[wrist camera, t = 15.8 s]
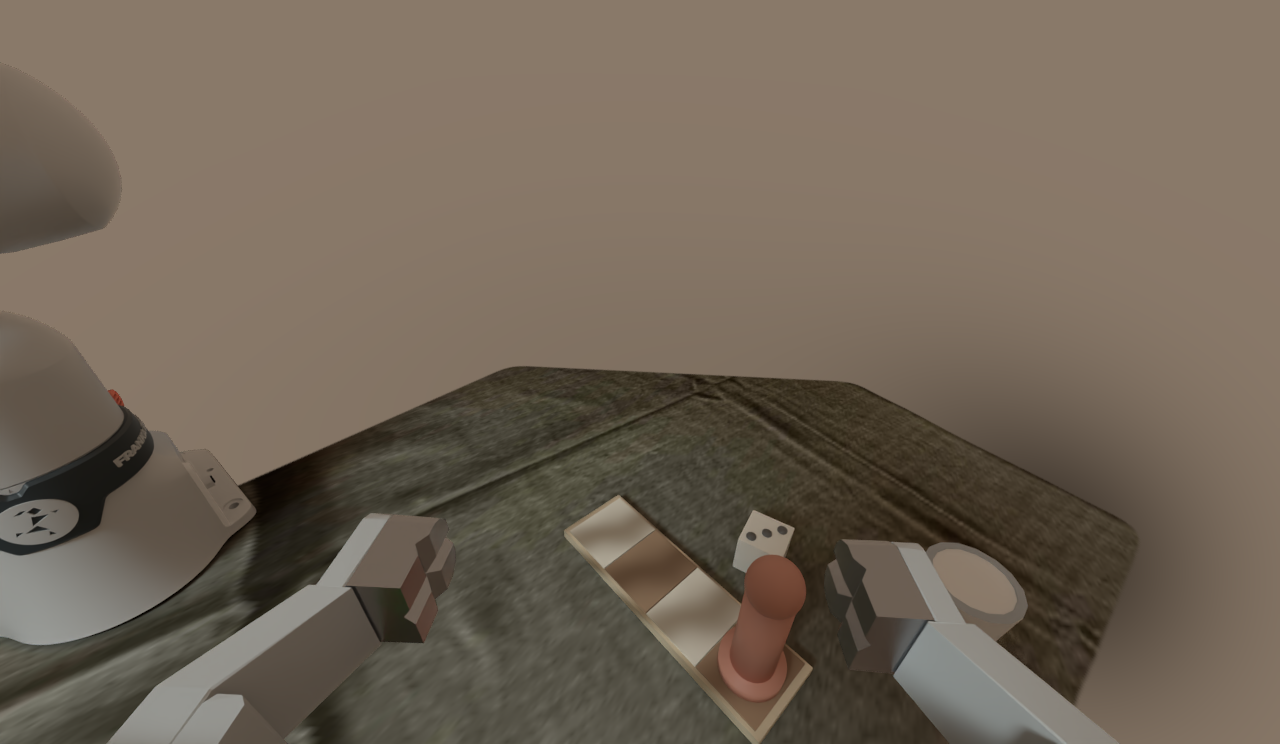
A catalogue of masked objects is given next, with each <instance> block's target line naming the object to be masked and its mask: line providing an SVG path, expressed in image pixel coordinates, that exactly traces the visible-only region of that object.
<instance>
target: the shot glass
mask: <svg viewBox="0 0 1280 744" xmlns="http://www.w3.org/2000/svg"><path fill="white" fill-rule="evenodd" d="M926 554H927V556H928V558H929V559H930V561H931V563H932V565H933V566H934V568H935V570H936V572H937V573H938V575H939V577H940V579H941V580H942V582H943V584H944V586H945V587H946V589H947V591H948V592H949V594H950V596H951V598H952V599H953V601H954V603H955V605H956V606H957V608H958V610H959V612H960V613H961V615H962V617H963V619H964V620H965V622H966V623H968V624H975V625H976V626H977V627H979V628H980V629H981V630H982V631H983V632H985V633H986V634H987V635H988V636H990V637H991V638H992V639H993V640H994V641H997V640H998V639H999V638H1000V637H1002V636H1003V635H1004V634H1005V633H1006V632H1007V631H1009V630H1010V629H1011V628H1012V627H1013V626H1015V625H1016V624H1017V623H1018V622H1019V621H1021V620H1022V619H1023V618H1024V615H1025V613H1026V610H1027V607H1028V604H1027V600H1026V597H1025V593H1024V590H1023V589H1022V587H1021V586H1020V585H1019V583H1018V582H1017V580H1016V579H1015V577H1014V576H1013V575H1012V574H1011V573H1010V572H1009V571H1008V570H1007V569H1005V568H1004V567H1003V566H1002V565H1001V564H1000V563H999V562H997V561H996V560H995V559H993V558H991V557H990V556H988V555H986V554H984V553H983V552H981V551H979V550H977V549H975V548H972V547H969V546H966V545H963V544H959V543H948V542H941V543H938V544H935V545H932V546H930V547H929V548H928V550H927V551H926Z"/></svg>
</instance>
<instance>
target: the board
mask: <svg viewBox="0 0 1280 744" xmlns="http://www.w3.org/2000/svg"><path fill="white" fill-rule="evenodd" d="M564 534H565V538H566V539H567V540H568V541H569V542H570V543H571V544H572V545H573V546H574V548H575V549H576V550H577V551H578V552H579V553H580V554H581V555H582V556H583V557H584V559H585V560H586V561H587V562H588V563H589V564H590V565H591V566H592V567H593V569H594V570H595V571H596V572H597V573H598V574H599V575H600V576H601V577H602V578H603V580H604V581H605V582H606V583H607V584H608V585H609V586H610V587H611V588H612V590H613V591H614V592H615V593H616V594H617V595H618V596H619V597H620V598H621V599H622V601H623V602H624V603H625V604H626V605H627V606H628V607H629V608H630V609H631V610H632V612H633V613H634V614H635V615H636V616H637V617H638V618H639V619H640V620H641V622H642V623H643V624H644V625H645V626H646V627H647V628H648V629H649V630H650V631H651V633H652V634H653V635H654V636H655V637H656V638H657V639H658V640H659V641H660V643H661V644H662V645H663V646H664V647H665V648H666V649H667V650H668V651H669V652H670V654H671V655H672V656H673V657H674V658H675V659H676V660H677V661H678V662H679V664H680V665H681V666H682V667H683V668H684V669H685V670H686V671H687V672H688V673H689V675H690V676H691V677H692V678H693V679H694V680H695V681H696V682H697V683H698V684H699V686H700V687H701V688H702V689H703V690H704V691H705V692H706V693H707V694H708V696H709V697H710V698H711V699H712V700H713V701H714V702H715V703H716V704H717V705H718V707H719V708H720V709H721V710H722V711H723V712H724V713H725V714H726V715H727V717H728V718H729V719H730V720H731V721H732V722H733V723H734V724H735V725H736V726H737V728H738V729H739V730H740V731H741V732H742V733H743V734H744V735H745V736H746V738H747V739H748V740H749V741H750V742H751V743H752V744H761V742H762V741H763V739H764V738H765V737H766V735H767V734H768V732H769V731H770V730H771V728H772V727H773V725H774V724H775V723H776V721H777V720H778V719H779V717H780V716H781V714H782V713H783V712H784V710H785V709H786V707H787V706H788V705H789V703H790V702H791V700H792V699H793V698H794V696H795V695H796V693H797V692H798V691H799V689H800V688H801V686H802V685H803V684H804V682H805V681H806V679H807V678H808V677H809V675H810V673H811V671H812V669H813V667H811V666H810V665H809V664H808V663H807V662H806V661H805V660H804V659H802V658H801V657H800V656H799V655H798V654H797V653H796V652H795V651H793V650H792V649H791V648H790V647H789V646H788V645H787V644H786V643H785V645H784V648H783V652H784V654H785V658H786V662H787V674H786V678H785V681H784V683H783V686H782V688H781V690H780V692H779V693H778V694H777V695H776V696H775V697H774V698H773V699H771V700H769V701H766V702H761V703H755V702H750V701H746V700H744V699H742V698H740V697H738V696H737V695H736V694H734V693H733V692H732V691H731V690H730V689H729V688H728V687H727V685H726V684H725V682H724V681H723V679H722V677H721V675H720V672H719V669H718V663H717V657H718V651H719V646H720V643H721V640H722V638H723V636H724V635H725V634H726V632H728V631H729V630H730V629H732V628H733V627H736V624H737V620H738V616H739V612H740V608H741V603H740V602H738V601H737V600H736V599H735V598H734V597H733V596H732V595H731V594H729V593H728V592H727V591H726V590H725V589H724V588H723V587H722V586H721V585H719V584H718V583H717V582H716V581H715V580H714V579H713V578H712V577H710V576H709V575H708V574H707V573H706V572H705V571H704V570H703V569H701V568H700V567H699V566H698V565H697V564H696V563H695V562H694V561H692V560H691V559H690V558H689V557H688V556H687V555H686V554H685V553H683V552H682V551H681V550H680V549H679V548H678V547H677V546H676V545H674V544H673V543H672V542H671V541H670V540H669V539H668V538H667V537H665V536H664V535H663V534H662V533H661V532H660V531H659V530H658V529H657V528H655V527H654V526H653V525H652V524H651V523H650V522H649V521H648V520H646V519H645V518H644V517H643V516H642V515H641V514H640V513H639V512H637V511H636V510H635V509H634V508H633V507H632V506H631V505H630V504H628V503H627V502H626V501H625V500H624V499H623V498H622V497H621V496H619V495H617V496H616V497H614V498H613V499H611V500H610V501H608V502H607V503H605V504H604V505H602V506H601V507H599V508H598V509H596V510H594V511H593V512H591V513H590V514H588V515H587V516H585V517H584V518H582V519H581V520H579V521H578V522H576V523H574V524H573V525H571V526H570V527H568V528H567V529H565V530H564Z"/></svg>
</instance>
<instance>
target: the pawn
mask: <svg viewBox="0 0 1280 744" xmlns="http://www.w3.org/2000/svg"><path fill="white" fill-rule="evenodd" d="M744 585H745V592H744V596H743V600H742V604H741V608H740V612H739V616H738V620H737V624H736V627H733V628H732V629H730V630H729V631H728V632H726V634H725V635H724V636H723V638H722V640H721V643H720V646H719V651H718V657H717V663H718V669H719V672H720V675H721V677H722V679H723V681H724V682H725V684H726V685H727V687H728V688H729V689H730V690H731V691H732V692H733V693H734V694H736V695H737V696H738V697H740V698H742V699H744V700H746V701H750V702H755V703H761V702H766V701H769V700H771V699H773V698H774V697H775V696H776V695H777V694H778V693H779V692H780V690H781V688H782V686H783V683H784V681H785V678H786V674H787V662H786V658H785V654H784V652H783V648H784V645H785V643H786V640H787V637H788V635H789V632H790V629H791V626H792V624H793V621H794V618H795V616H796V614H797V613H798V612H799V610H800V609H801V608H802V606H803V604H804V601H805V597H806V585H805V581H804V578H803V576H802V574H801V572H800V570H799V569H798V568H797V566H796V565H795V564H794V563H792V562H791V561H790V560H788V559H787V558H785V557H782V556H779V555H764V556H761V557H759V558H757V559H756V560H755V561H753V562H752V564H751V565H750V566H749V568H748V569H747V572H746V575H745V581H744Z"/></svg>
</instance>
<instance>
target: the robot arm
mask: <svg viewBox="0 0 1280 744" xmlns="http://www.w3.org/2000/svg"><path fill="white" fill-rule="evenodd" d="M121 192H122V185H121V175H120V171H119V167H118V164H117V162H116V159H115V157H114V155H113V153H112V151H111V149H110V147H109V145H108V144H107V142H106V141H105V139H104V138H103V136H102V135H101V134H100V132H99V131H98V130H97V129H96V127H95V126H94V125H93V124H92V123H91V122H90V121H89V120H88V119H87V118H86V117H85V116H84V115H83V114H82V113H81V112H80V111H79V110H78V109H77V108H76V107H75V106H73V105H72V104H71V103H70V102H69V101H68V100H66V99H65V98H63V97H62V96H61V95H59V94H58V93H57V92H55V91H54V90H53V89H51V88H49V87H48V86H46V85H45V84H43V83H42V82H40V81H38V80H37V79H35V78H33V77H31V76H30V75H28V74H26V73H24V72H22V71H21V70H19V69H17V68H14V67H12V66H9V65H6V64H3V63H0V254H1V253H10V252H17V251H20V250H25V249H29V248H33V247H37V246H41V245H45V244H49V243H53V242H57V241H61V240H65V239H68V238H72V237H76V236H79V235H83V234H86V233H90V232H94V231H97V230H100V229H103V228H105V227H106V226H107V225H108V223H110V221H111V220H112V218H113V217H114V215H115V213H116V211H117V209H118V206H119V203H120V199H121ZM255 514H256V508H255V507H254V506H253V504H252V503H251V502H250V501H249V499H248V498H247V497H246V496H245V494H244V493H243V492H242V491H241V489H240V488H239V487H238V486H237V484H236V483H235V482H234V481H233V480H232V478H231V477H230V476H229V474H228V473H227V472H226V471H225V470H224V468H223V467H222V466H221V464H220V463H219V462H218V461H217V459H216V458H215V457H214V456H213V455H212V454H211V453H210V451H208V450H206V449H201V450H190V451H184V452H179V450H178V449H177V447H176V446H175V444H174V443H173V441H172V440H171V438H170V437H169V436H168V434H167V433H165V432H161V431H148V430H147V429H146V427H145V425H144V423H143V422H142V421H141V420H140V419H139V418H138V417H137V416H136V415H134V414H132V413H131V412H130V411H129V409H127V408H125V407H124V404H123V401H122V399H121V398H120V396H119V395H118V393H117V392H116V391H114V390H108V391H107V389H106V388H105V387H104V385H103V384H102V382H101V381H100V380H99V378H98V377H97V375H96V374H95V373H94V372H93V370H92V369H91V367H90V366H89V364H88V363H87V362H86V360H85V359H84V357H83V356H82V355H81V353H80V352H79V351H78V349H77V348H76V346H75V345H74V344H73V342H72V341H71V340H70V339H69V338H68V337H66V336H65V335H64V334H62V333H60V332H59V331H57V330H56V329H54V328H52V327H50V326H48V325H46V324H44V323H42V322H40V321H37V320H35V319H32V318H30V317H26V316H23V315H20V314H15V313H11V312H5V311H0V637H7V638H11V639H13V640H16V641H19V642H21V643H25V644H32V645H49V644H57V643H64V642H68V641H73V640H77V639H81V638H84V637H87V636H91V635H94V634H96V633H99V632H102V631H105V630H107V629H110V628H112V627H115V626H117V625H119V624H121V623H124V622H126V621H128V620H130V619H132V618H134V617H136V616H138V615H140V614H141V613H143V612H145V611H147V610H149V609H150V608H152V607H154V606H155V605H157V604H159V603H160V602H162V601H163V600H165V599H166V598H168V597H169V596H171V595H172V594H174V593H175V592H177V591H178V590H179V589H181V588H182V587H183V586H184V585H186V584H187V583H188V582H189V581H191V580H192V579H193V578H194V577H195V576H196V575H198V574H199V573H200V572H201V571H202V570H203V569H204V568H205V567H206V566H207V565H208V564H209V562H210V561H211V560H212V559H213V558H214V557H215V555H216V554H217V553H218V551H219V550H220V549H221V547H222V546H223V544H224V543H225V542H226V541H227V540H228V538H229V537H230V536H231V535H233V534H234V533H235V532H236V531H238V530H239V529H240V528H241V527H243V526H244V525H245V524H246V523H247V522H249V521H250V520H251V519H252V518H253V517H254V515H255ZM448 531H449V527H448V524H447V521H446V519H442V518H430V517H418V516H406V515H393V514H378V513H371V514H369V515H368V516H367V517H365V518H364V519H363V520H362V521H361V522H360V524H359V525H358V527H357V528H356V530H355V531H354V532H353V534H352V535H351V537H350V538H349V539H348V541H347V542H346V544H345V545H344V546H343V548H342V549H341V551H340V552H339V554H338V555H337V556H336V558H335V559H334V561H333V562H332V563H331V565H330V566H329V568H328V569H327V571H326V572H325V573H324V575H323V576H322V578H321V579H320V580H319V582H318V583H317V585H308V586H306V587H305V588H303V589H302V590H300V591H299V592H297V593H296V594H294V595H293V596H291V597H290V598H288V599H287V600H285V601H284V602H282V603H281V604H279V605H278V606H276V607H274V608H273V609H271V610H270V611H268V612H267V613H265V614H264V615H262V616H261V617H259V618H258V619H256V620H255V621H253V622H252V623H250V624H249V625H247V626H246V627H244V628H243V629H241V630H240V631H238V632H237V633H235V634H234V635H232V636H231V637H229V638H228V639H226V640H225V641H223V642H222V643H220V644H219V645H217V646H216V647H214V648H213V649H211V650H210V651H208V652H207V653H205V654H204V655H202V656H201V657H199V658H198V659H196V660H195V661H193V662H192V663H190V664H189V665H187V666H186V667H184V668H183V669H181V670H180V671H178V672H177V673H175V674H174V675H172V676H171V677H169V678H168V679H166V680H165V681H163V682H162V683H160V684H159V685H157V686H156V687H155V688H154V689H153V690H152V691H151V692H150V694H149V695H148V696H147V697H146V698H145V700H144V701H143V702H142V703H141V704H140V705H139V707H138V708H137V709H136V710H135V711H134V712H133V714H132V715H131V716H130V717H129V718H128V719H127V721H126V722H125V723H124V724H123V725H122V726H121V728H120V729H119V730H118V731H117V732H116V733H115V735H114V736H113V737H112V738H111V739H110V740H109V742H108V743H107V744H288V743H287V742H286V741H285V740H284V738H285V737H286V736H287V735H288V734H289V733H290V732H291V731H293V730H294V729H295V728H296V727H297V726H298V725H299V724H300V723H301V722H302V721H303V720H304V719H305V718H306V717H307V716H308V715H309V714H310V713H311V712H312V711H313V710H314V709H315V708H316V707H317V706H318V705H319V704H320V703H321V702H322V701H323V700H324V699H325V698H327V697H328V696H329V695H330V694H331V693H332V692H333V691H334V690H335V689H336V688H337V687H338V686H339V685H340V684H341V683H342V682H343V681H344V680H345V679H346V678H347V677H348V676H349V675H350V674H351V673H352V672H353V671H354V670H355V669H356V668H357V667H358V666H359V665H361V664H362V663H363V662H364V661H365V660H366V659H367V658H368V657H369V656H370V655H371V654H372V653H373V652H374V651H375V650H376V649H377V648H378V647H379V646H380V645H381V643H380V642H403V643H424V641H425V639H426V637H427V635H428V632H429V630H430V628H431V625H432V623H433V621H434V619H435V616H436V614H437V612H438V607H437V604H436V600H435V599H436V598H437V597H439V596H440V595H441V594H442V593H443V592H445V591H446V590H447V589H448V586H449V584H450V582H451V579H452V577H453V573H454V568H455V563H456V550H455V547H454V543H453V542H451V541H450V540H449V539H448V538H446V535H447V533H448ZM833 551H834V554H835V556H836V559H835V560H834V561H832V562H831V563H829V564H828V566H827V569H826V572H825V576H824V589H825V595H826V600H827V604H828V607H829V610H830V612H831V613H832V614H833V615H834V616H835V617H836V618H837V619H838V620H839V621H840V622H841V625H840V628H839V630H838V633H837V636H838V639H839V642H840V645H841V648H842V651H843V654H844V657H845V660H846V664H847V667H848V670H859V671H871V672H882V673H893V674H894V675H893V677H894V678H895V679H896V680H897V681H898V683H899V684H900V685H901V686H902V687H903V689H904V690H905V691H906V692H907V693H908V695H909V696H910V697H911V698H912V699H913V701H914V702H915V703H916V704H917V705H918V706H919V708H920V709H921V710H922V711H923V712H924V714H925V715H926V716H927V717H928V718H929V720H930V721H931V722H932V723H933V724H934V726H935V727H936V728H937V729H938V730H939V732H940V733H941V734H942V735H943V736H944V738H945V739H946V740H947V741H948V742H949V743H950V744H1120V743H1119V742H1117V741H1116V740H1115V739H1114V738H1113V737H1111V736H1110V735H1109V734H1108V733H1106V732H1105V731H1104V730H1103V729H1102V728H1100V727H1099V726H1098V725H1097V724H1095V723H1094V722H1093V721H1092V720H1090V719H1089V718H1088V717H1087V716H1086V715H1085V714H1083V713H1082V712H1081V711H1080V710H1078V709H1077V708H1076V707H1075V706H1074V705H1072V704H1071V703H1070V702H1069V701H1068V700H1066V699H1065V698H1064V697H1063V696H1061V695H1060V694H1059V693H1058V692H1057V691H1055V690H1054V689H1053V688H1052V687H1050V686H1049V685H1048V684H1047V683H1046V682H1044V681H1043V680H1042V679H1041V678H1039V677H1038V676H1037V675H1036V674H1035V673H1033V672H1032V671H1031V670H1030V669H1029V668H1027V667H1026V666H1025V665H1024V664H1022V663H1021V662H1020V661H1019V660H1018V659H1016V658H1015V657H1014V656H1013V655H1011V654H1010V653H1009V652H1008V651H1007V650H1005V649H1004V648H1003V647H1002V646H1000V645H999V644H998V643H997V642H996V641H994V640H993V639H992V638H991V637H990V636H988V635H987V634H986V633H985V632H983V631H982V630H981V629H980V628H979V627H977V626H976V625H975V624H968V623H966V622H965V620H964V619H963V617H962V615H961V613H960V612H959V610H958V608H957V606H956V605H955V603H954V601H953V599H952V598H951V596H950V594H949V592H948V591H947V589H946V587H945V586H944V584H943V582H942V580H941V579H940V577H939V575H938V573H937V572H936V570H935V568H934V566H933V565H932V563H931V561H930V559H929V558H928V556H927V554H926V552H925V551H924V549H923V548H922V547H921V546H920V545H919V544H918V543H904V542H889V541H873V540H848V539H841V540H839V541H838V542H837V543H836V545H835V548H834V550H833Z"/></svg>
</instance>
